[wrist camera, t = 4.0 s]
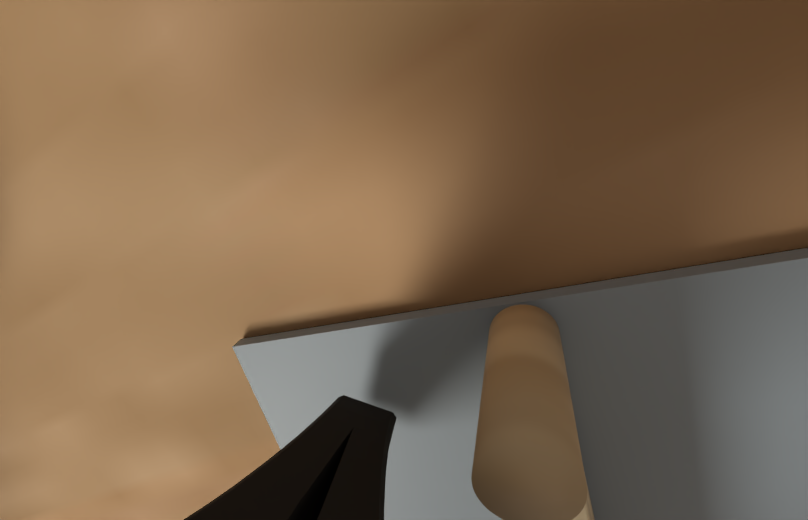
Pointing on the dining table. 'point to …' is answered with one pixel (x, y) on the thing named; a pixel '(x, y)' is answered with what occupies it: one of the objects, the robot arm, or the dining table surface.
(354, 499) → the robot arm
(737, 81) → the dining table surface
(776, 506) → the card
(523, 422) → the fence panel
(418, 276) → the dining table surface
